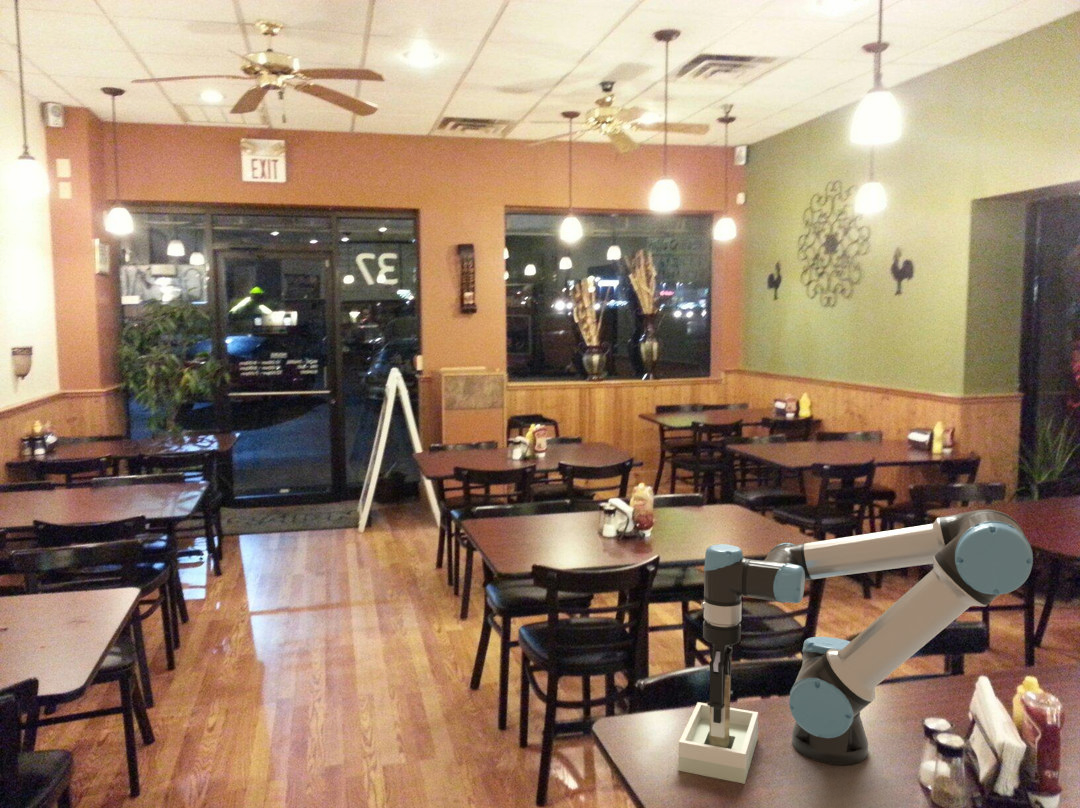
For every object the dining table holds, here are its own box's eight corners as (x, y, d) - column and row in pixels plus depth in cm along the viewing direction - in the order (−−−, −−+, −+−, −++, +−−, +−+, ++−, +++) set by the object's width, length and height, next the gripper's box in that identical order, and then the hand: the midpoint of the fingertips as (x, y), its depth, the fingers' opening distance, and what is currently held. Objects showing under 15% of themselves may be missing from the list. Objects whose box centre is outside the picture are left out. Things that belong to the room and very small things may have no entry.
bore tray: (757, 739, 178) (758, 712, 177) (744, 783, 160) (745, 754, 160) (697, 728, 183) (697, 702, 182) (678, 770, 165) (678, 741, 165)
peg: (711, 744, 174) (712, 671, 173) (730, 748, 173) (732, 674, 171) (707, 753, 170) (709, 678, 169) (727, 757, 169) (728, 682, 168)
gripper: (711, 605, 178) (709, 710, 180) (695, 632, 163) (693, 746, 165) (746, 610, 175) (744, 716, 178) (734, 637, 160) (731, 753, 162)
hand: (719, 730), depth 171 cm, fingers closed on peg, 4 cm apart
